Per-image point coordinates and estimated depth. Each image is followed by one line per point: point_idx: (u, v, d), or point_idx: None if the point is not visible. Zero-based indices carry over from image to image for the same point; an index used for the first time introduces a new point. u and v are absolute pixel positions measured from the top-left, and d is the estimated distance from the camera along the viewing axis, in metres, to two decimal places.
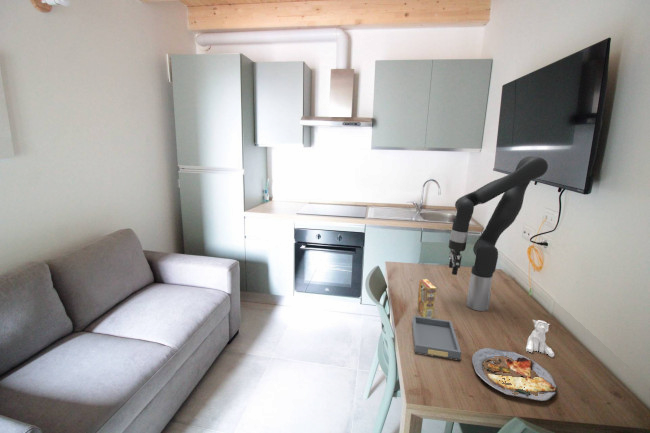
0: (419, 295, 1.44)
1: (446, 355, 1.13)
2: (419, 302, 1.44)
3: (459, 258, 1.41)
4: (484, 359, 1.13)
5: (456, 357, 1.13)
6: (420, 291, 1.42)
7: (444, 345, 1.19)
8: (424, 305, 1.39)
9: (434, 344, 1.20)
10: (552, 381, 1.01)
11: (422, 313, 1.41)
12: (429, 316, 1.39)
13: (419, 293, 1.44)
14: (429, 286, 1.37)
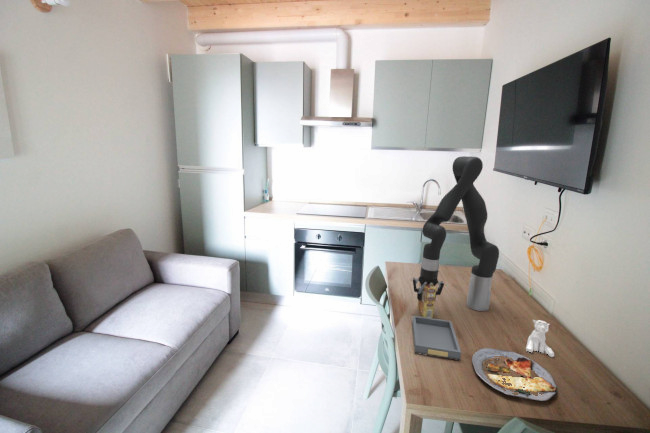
0: None
1: (446, 355, 1.13)
2: (419, 302, 1.44)
3: None
4: (484, 359, 1.13)
5: (456, 357, 1.13)
6: None
7: (444, 345, 1.19)
8: (424, 305, 1.39)
9: (434, 344, 1.20)
10: (552, 381, 1.01)
11: (422, 313, 1.41)
12: (429, 316, 1.39)
13: None
14: (429, 286, 1.37)
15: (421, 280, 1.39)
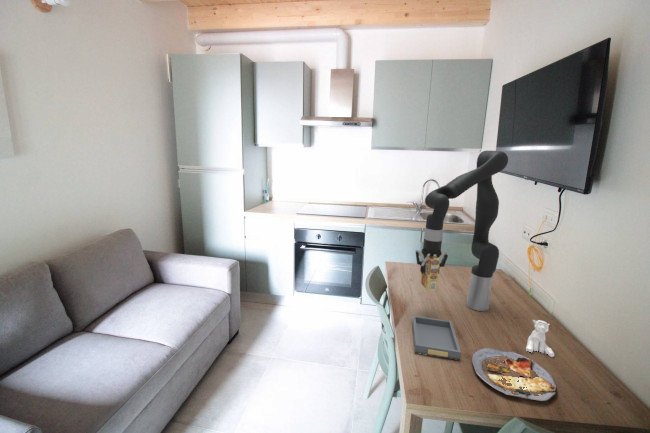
0: None
1: (446, 355, 1.13)
2: (422, 275, 1.41)
3: None
4: (484, 359, 1.13)
5: (456, 357, 1.13)
6: (424, 264, 1.39)
7: (444, 345, 1.19)
8: (428, 277, 1.36)
9: (434, 344, 1.20)
10: (552, 381, 1.01)
11: (426, 286, 1.38)
12: (433, 289, 1.36)
13: None
14: (432, 258, 1.34)
15: (424, 252, 1.36)
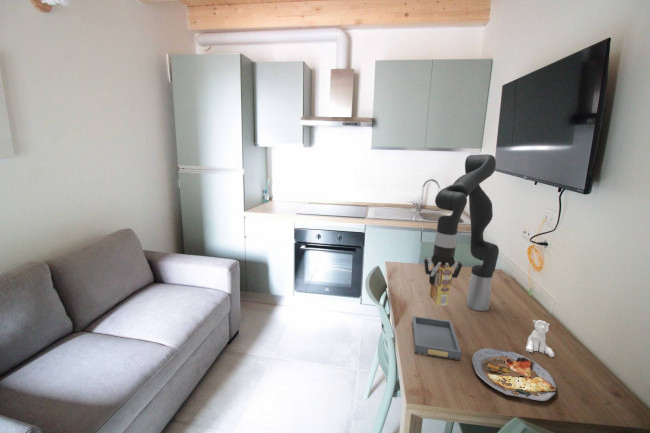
0: None
1: (446, 355, 1.13)
2: (431, 287, 1.21)
3: None
4: (484, 359, 1.13)
5: (456, 357, 1.13)
6: None
7: (444, 345, 1.19)
8: (438, 289, 1.16)
9: (434, 344, 1.20)
10: (552, 381, 1.01)
11: (435, 299, 1.18)
12: (444, 303, 1.16)
13: None
14: (444, 267, 1.14)
15: (434, 260, 1.17)
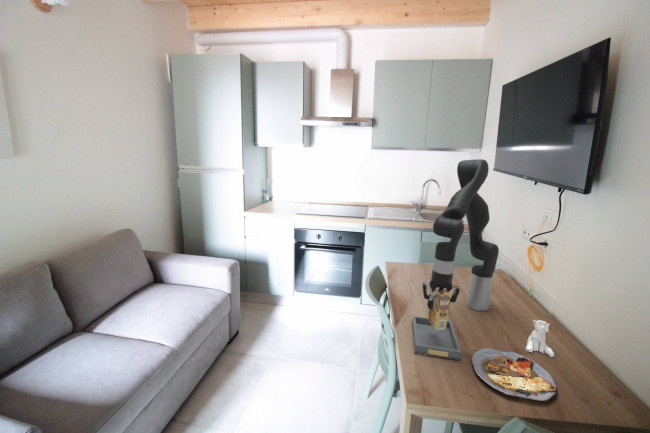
0: None
1: (446, 355, 1.13)
2: (430, 310, 1.23)
3: None
4: (484, 359, 1.13)
5: (456, 357, 1.13)
6: None
7: (444, 345, 1.19)
8: (436, 314, 1.18)
9: (434, 344, 1.20)
10: (552, 381, 1.01)
11: (433, 324, 1.20)
12: (442, 327, 1.18)
13: None
14: (442, 292, 1.16)
15: (432, 285, 1.18)
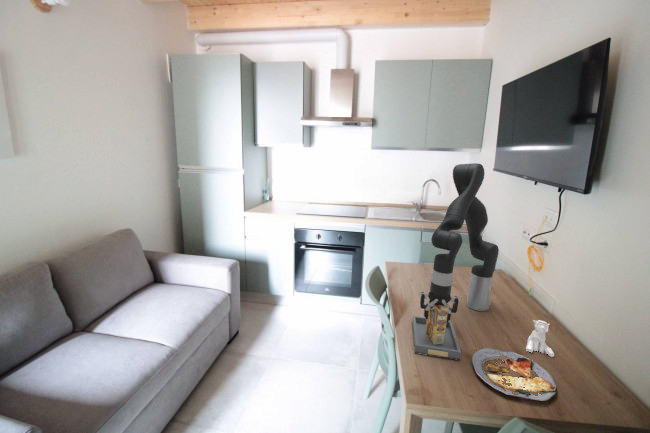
0: (428, 316, 1.25)
1: (446, 355, 1.13)
2: (428, 324, 1.25)
3: None
4: (484, 359, 1.13)
5: (456, 357, 1.13)
6: (430, 312, 1.23)
7: (444, 345, 1.19)
8: (434, 329, 1.19)
9: (434, 344, 1.20)
10: (552, 381, 1.01)
11: (431, 338, 1.22)
12: (439, 342, 1.20)
13: (428, 314, 1.25)
14: (440, 307, 1.17)
15: (431, 296, 1.19)
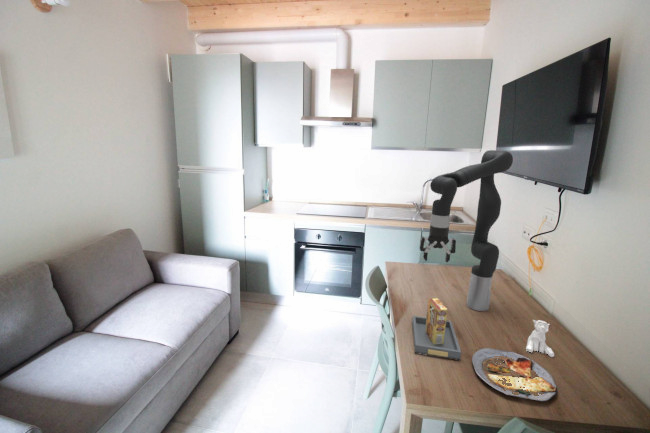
0: (428, 316, 1.25)
1: (446, 355, 1.13)
2: (428, 324, 1.25)
3: None
4: (484, 359, 1.13)
5: (456, 357, 1.13)
6: (429, 312, 1.23)
7: (444, 345, 1.19)
8: (434, 329, 1.19)
9: None
10: (552, 381, 1.01)
11: (431, 338, 1.22)
12: (439, 342, 1.20)
13: (428, 314, 1.25)
14: (439, 307, 1.17)
15: (431, 239, 1.30)
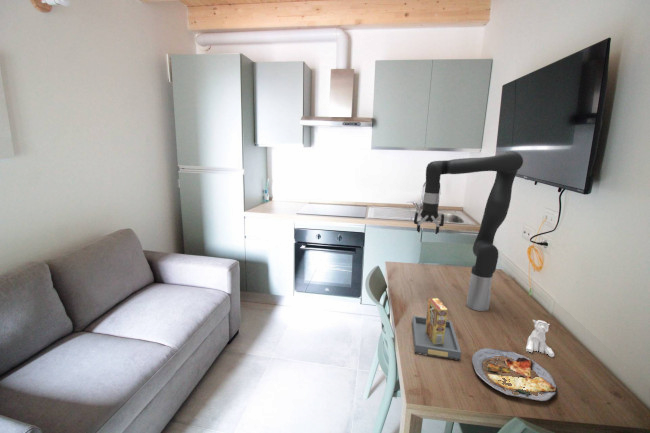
0: (428, 316, 1.25)
1: (446, 355, 1.13)
2: (428, 324, 1.25)
3: None
4: (484, 359, 1.13)
5: (456, 357, 1.13)
6: (429, 312, 1.23)
7: (444, 345, 1.19)
8: (434, 329, 1.19)
9: None
10: (552, 381, 1.01)
11: (431, 338, 1.22)
12: (439, 342, 1.20)
13: (428, 314, 1.25)
14: (439, 307, 1.17)
15: (423, 214, 1.54)
